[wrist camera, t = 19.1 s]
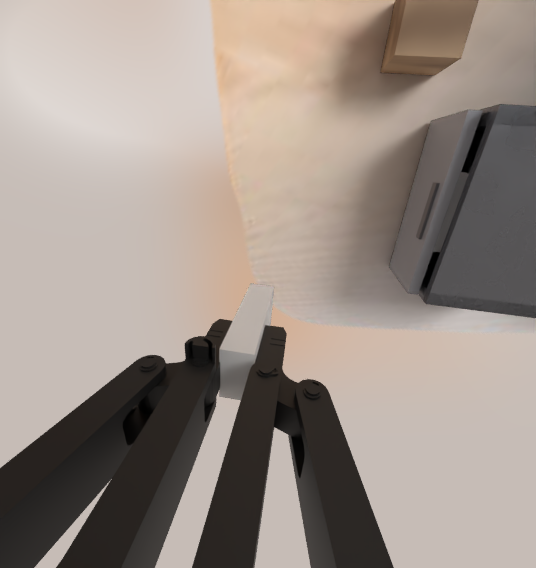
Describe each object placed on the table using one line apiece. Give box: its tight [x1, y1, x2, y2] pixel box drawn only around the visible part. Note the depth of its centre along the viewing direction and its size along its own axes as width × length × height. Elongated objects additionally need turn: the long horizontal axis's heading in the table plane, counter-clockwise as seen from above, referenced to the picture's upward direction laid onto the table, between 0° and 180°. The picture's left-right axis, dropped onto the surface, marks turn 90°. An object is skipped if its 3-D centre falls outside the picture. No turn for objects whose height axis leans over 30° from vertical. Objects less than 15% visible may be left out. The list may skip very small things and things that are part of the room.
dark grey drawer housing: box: [418, 104, 536, 318], centre depth 26 cm, size 16×13×9 cm
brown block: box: [381, 0, 478, 75], centre depth 23 cm, size 5×5×5 cm
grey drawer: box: [389, 110, 482, 294], centre depth 27 cm, size 16×13×7 cm
